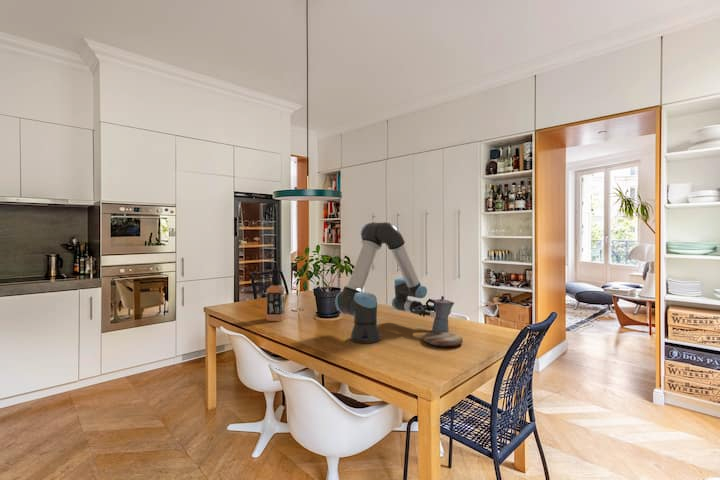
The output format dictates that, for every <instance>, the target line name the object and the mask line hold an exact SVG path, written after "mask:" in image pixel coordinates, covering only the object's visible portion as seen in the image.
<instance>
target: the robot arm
mask: <svg viewBox="0 0 720 480" xmlns="http://www.w3.org/2000/svg"><path fill="white" fill-rule="evenodd" d="M360 238H361V242H360V243H361V244H362V247H361V250H360V251H359V254H358V256H357V259H356V262H355V266H354V267H353V270H352V273H351V276H350V278H349V281H348V283H347V284H346V285H344V286H343V289H342V290H341V291H340V292H338V293H337V295H336V296H335V300H334V303H335V307H336V310H337V311H338V312H340V313H342V314H344V315H348V316H352V317H353V321H354V322H353V323H354V324H353V328H352V330H351V334H350V341H352V342H354V343H357V344H373V343H379V341H380V340H381V334H380V330H379V327H378V301H377V300H378V299H377V296H376V295H375V294H373V293H370V292H364V287H365V284H366V281H367V278H368V277H369V273H370V271H371V268H372V265H373V263H374V260H375V258H376V254H377V252H378V251H379V250H381V248H382V245H383V244H385V245H386V246H387V249H388V250H389V251H391V253H392V255H393V257H394V260H395V261H396V265H397V266H398V268H399V271H400V274H401V275H402V278H401V277H400V278H399V277H398V278H395V279H394V285H393V287H394V297H393V298H392V302H391V306H392V309H395V310H397V311H402V312H406V313H409V314H415V315H418V316H420V317H421V316H422V317H424V318H425V317H427V316H428V317H430V318H435V317H436V312H434V304H432V305H431V304H428V305H429V310H430V311H428V310H427V306H426V304H423V303H422V302H421V301H420V300H419V301H418V300H413V299H409V298H408V297H411V298H412V297H413V298H416V299H424V298H425V297H426V296H427V293H428V289H427V286H426V285H424V284H421V282H420V279H419V277H418V275H417V272H416V270H415V268H414V265H413V262H412V259H411V258H410V256H409V253H408V251H407V249H406V246H405V243H406V242H405V239H404V237H403V236H402V233H401V232H400V231H399V230H398V228H397V227H396V226H395V225H393V224H392V223H390V222H368V223H366V224H365V225H364V226H362V228H361V230H360ZM451 314H452V309H451V310H450V313H449V315H451Z"/></svg>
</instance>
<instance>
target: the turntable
mask: <svg viewBox="0 0 720 480" xmlns="http://www.w3.org/2000/svg"><path fill="white" fill-rule="evenodd" d="M423 341H424V342H425V343H428V344H429V345H431V344H433V345H432V346H434V345H438V346H453V347H455V345H456V346H459V345H461V344H462V343H463V337H462V336H461V335H459V334H456V333H452V332H449V333H446V332H433V331H432V332H428V333H425V334H423ZM438 346H437V347H438Z"/></svg>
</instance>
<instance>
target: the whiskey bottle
mask: <svg viewBox="0 0 720 480" xmlns="http://www.w3.org/2000/svg"><path fill="white" fill-rule="evenodd" d="M284 292H285V287H284V286H282V285H281V284H280V277H279V268H272V277H271V285H270V286H269V287H267V288H266V294H267V296H266V298H267V301H266V307H267V308H266V309H267V310H266V314H265V315H266V317H265V318H266V322H283V321H284V320H285V319H286V311H285V293H284Z"/></svg>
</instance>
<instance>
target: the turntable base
mask: <svg viewBox="0 0 720 480" xmlns="http://www.w3.org/2000/svg"><path fill="white" fill-rule="evenodd" d="M431 345H432V346H434V347H439V348H451V347H455V346H456V347H457V345H455V346H438V345H433V344H430V346H431Z"/></svg>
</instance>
